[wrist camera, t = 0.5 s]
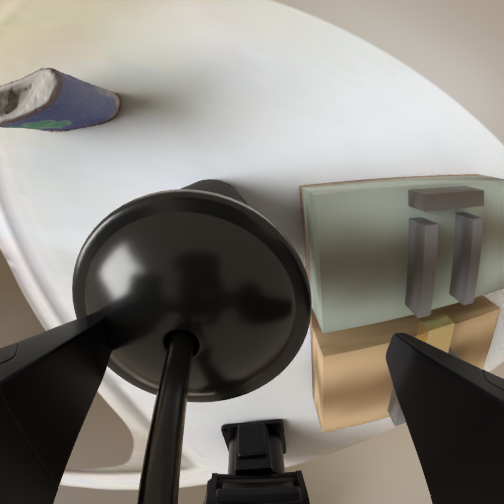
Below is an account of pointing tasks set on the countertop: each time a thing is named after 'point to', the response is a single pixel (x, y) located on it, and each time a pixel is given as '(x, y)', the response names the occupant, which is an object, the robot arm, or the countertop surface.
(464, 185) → the frame
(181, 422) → the drinking cup
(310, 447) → the countertop surface
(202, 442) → the countertop surface
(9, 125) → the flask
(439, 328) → the bolt
